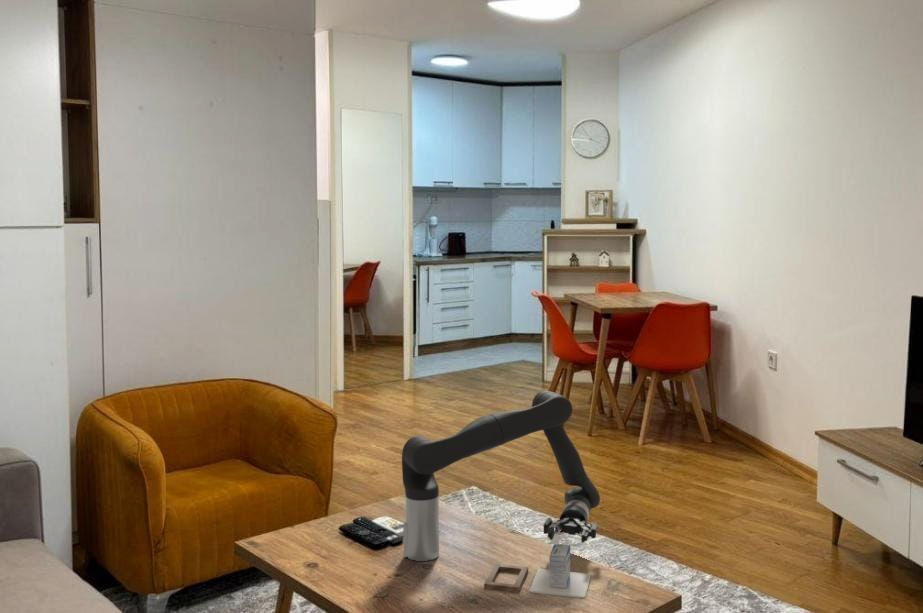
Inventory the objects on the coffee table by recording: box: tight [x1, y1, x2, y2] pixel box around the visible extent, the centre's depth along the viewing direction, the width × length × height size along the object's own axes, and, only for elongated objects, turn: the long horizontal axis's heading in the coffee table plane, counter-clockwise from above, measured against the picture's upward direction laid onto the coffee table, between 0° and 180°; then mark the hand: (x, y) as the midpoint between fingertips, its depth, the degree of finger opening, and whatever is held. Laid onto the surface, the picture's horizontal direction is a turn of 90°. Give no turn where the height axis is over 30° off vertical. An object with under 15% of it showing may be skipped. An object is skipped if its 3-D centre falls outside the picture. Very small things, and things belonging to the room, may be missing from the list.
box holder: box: [483, 563, 529, 593], centre depth 226 cm, size 9×13×1 cm
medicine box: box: [548, 543, 571, 589], centre depth 223 cm, size 8×4×9 cm, turn 166°
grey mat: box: [528, 568, 592, 599], centre depth 223 cm, size 14×14×1 cm
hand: (566, 537), depth 232 cm, fingers open, 8 cm apart
